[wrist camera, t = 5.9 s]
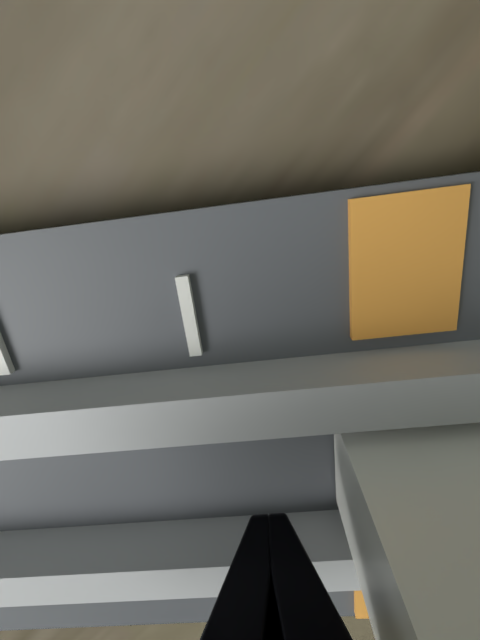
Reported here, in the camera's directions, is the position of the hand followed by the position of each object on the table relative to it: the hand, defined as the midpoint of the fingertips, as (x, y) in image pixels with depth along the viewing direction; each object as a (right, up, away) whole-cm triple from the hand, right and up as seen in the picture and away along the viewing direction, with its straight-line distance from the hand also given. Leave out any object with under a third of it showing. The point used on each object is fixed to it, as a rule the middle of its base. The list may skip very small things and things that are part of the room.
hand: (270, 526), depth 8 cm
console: (-1, +1, +4) cm, 4 cm away
